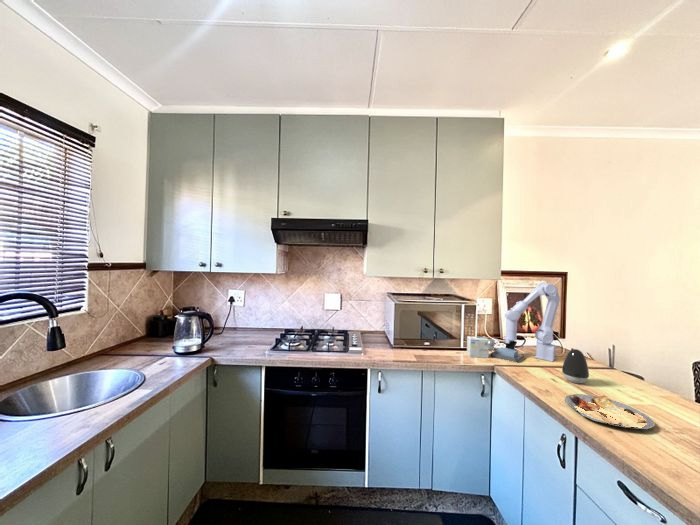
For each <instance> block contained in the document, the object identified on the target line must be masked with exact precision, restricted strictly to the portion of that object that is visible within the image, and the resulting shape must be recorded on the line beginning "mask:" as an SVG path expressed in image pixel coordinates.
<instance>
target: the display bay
mask: <svg viewBox="0 0 700 525" xmlns="http://www.w3.org/2000/svg"><path fill="white" fill-rule="evenodd" d="M498 349H499V348H497V349H496V350H493V351H492V352H491V353H490V357H491V358H495V359H499V358H500V359H499V360H503V359H504V361H508V360H509V361H508V362H512V361H513V362H512V363H516V362H517V364H518V363H520V362H521V361H522V360H523V358H524V359H525V354H523V353H521V354H520V355H518V357H517V358H513V357H508V356H504V355H499V354H497V350H498ZM519 361H520V362H519Z"/></svg>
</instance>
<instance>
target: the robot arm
mask: <svg viewBox="0 0 700 525" xmlns="http://www.w3.org/2000/svg"><path fill="white" fill-rule="evenodd" d="M541 296H544V297H545V298H546V299H547V304H546V306H545V310H544V314H543V318H542V322H541V325H540V326H539V327H538V329H537V331H536V332H534V333H535V334H534V336H535V338H536V346H535V348H536V349H535V350H536V351H535V355H534V356H533V358H534V359H540V360H544V361H548V362H549V361H550V362H554V361H555V360H556V359H557V358H556V350H557V348H556V347H557V346H556V344H552V343H553V341H554V331H553V326H554V321H555V318H556V315H557V310H558V306H559V303H560V301H561V298H560V295H559V288H558V287H557V286H556V284H554V283H551V282H550V283H549V282H540V283H539V284H538V285H536V286H535V288H534V289H533V290H532V291H530V293H529V294H528V295H527V296H526V297H525V298H524V299H523V300H519V301H516V303H515V305H513V307H510V309H509V310H507V311H506V312H505V314H504V317H505V318H506V321H505V336H503V339H505V340H504V344H505V346H506V348H508V349H513V350H515V347H516V345H517V344H518V343H517V341H518V340H517V335H518V334H517V333H518V332H517V331H518V320H519V319H520V316H521V315H522V314H523V313H524V312H525V311H526V310H528V308H529V304H531V303H532V302H534V301H535V299H537V298H538V297H541Z"/></svg>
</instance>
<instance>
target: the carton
mask: <svg viewBox="0 0 700 525" xmlns="http://www.w3.org/2000/svg"><path fill="white" fill-rule="evenodd" d="M497 349H498V350H497ZM497 349H496V350H497V354H499V355H504V356H508V357H513V358H517V357H519V350H517V349H514V350H513V349H508V348H507V347H503V346H501V347H499V348H497Z"/></svg>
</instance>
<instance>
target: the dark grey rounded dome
mask: <svg viewBox="0 0 700 525" xmlns="http://www.w3.org/2000/svg"><path fill="white" fill-rule="evenodd" d="M561 372H562V375H563V377H564V379H565V380H567V381H568V382H569V383H570V382H571V383H573V384H577V383H581V384H584V383H586V382H587V381H588V378H589V377H590V370H589V366H588V363H587V359H586V356H585V355H584V353H583V352H582V351H581V350H580V349H578V348H577V349H576V348H574V347H573V348H571V349H570V350H569V351H568V352H567V354H566V356H565V358H564V361H563V364H562V368H561Z"/></svg>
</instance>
